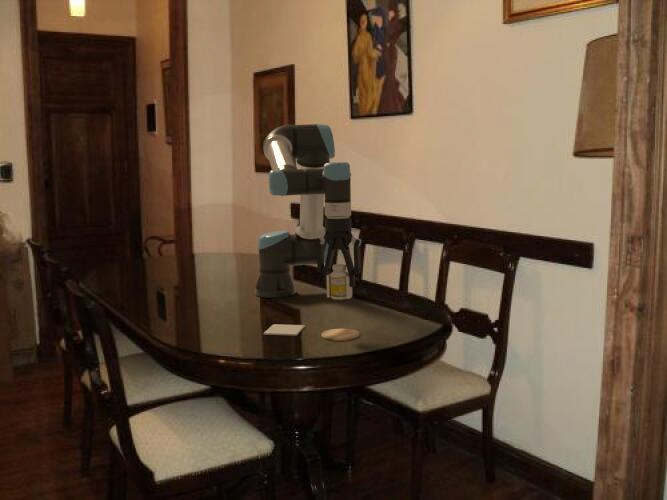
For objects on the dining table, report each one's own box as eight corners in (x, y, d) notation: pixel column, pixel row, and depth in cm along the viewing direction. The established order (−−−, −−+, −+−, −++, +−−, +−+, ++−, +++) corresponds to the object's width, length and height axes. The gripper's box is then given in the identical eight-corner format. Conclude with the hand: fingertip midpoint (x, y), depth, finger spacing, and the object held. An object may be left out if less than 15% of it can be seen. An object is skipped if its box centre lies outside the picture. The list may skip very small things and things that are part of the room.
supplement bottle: (341, 300, 196) (340, 267, 195) (326, 298, 200) (325, 265, 198) (353, 297, 200) (352, 264, 199) (338, 294, 204) (337, 262, 202)
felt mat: (263, 334, 205) (263, 332, 204) (273, 325, 214) (273, 324, 214) (296, 335, 202) (296, 334, 202) (304, 326, 212) (304, 325, 212)
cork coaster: (315, 339, 199) (315, 337, 199) (329, 329, 209) (329, 327, 209) (351, 342, 195) (351, 340, 195) (364, 332, 205) (364, 330, 205)
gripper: (303, 217, 196) (305, 297, 200) (364, 219, 190) (365, 301, 193) (313, 215, 203) (315, 292, 207) (372, 216, 196) (373, 296, 200)
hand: (339, 296), depth 200 cm, fingers closed on supplement bottle, 5 cm apart
